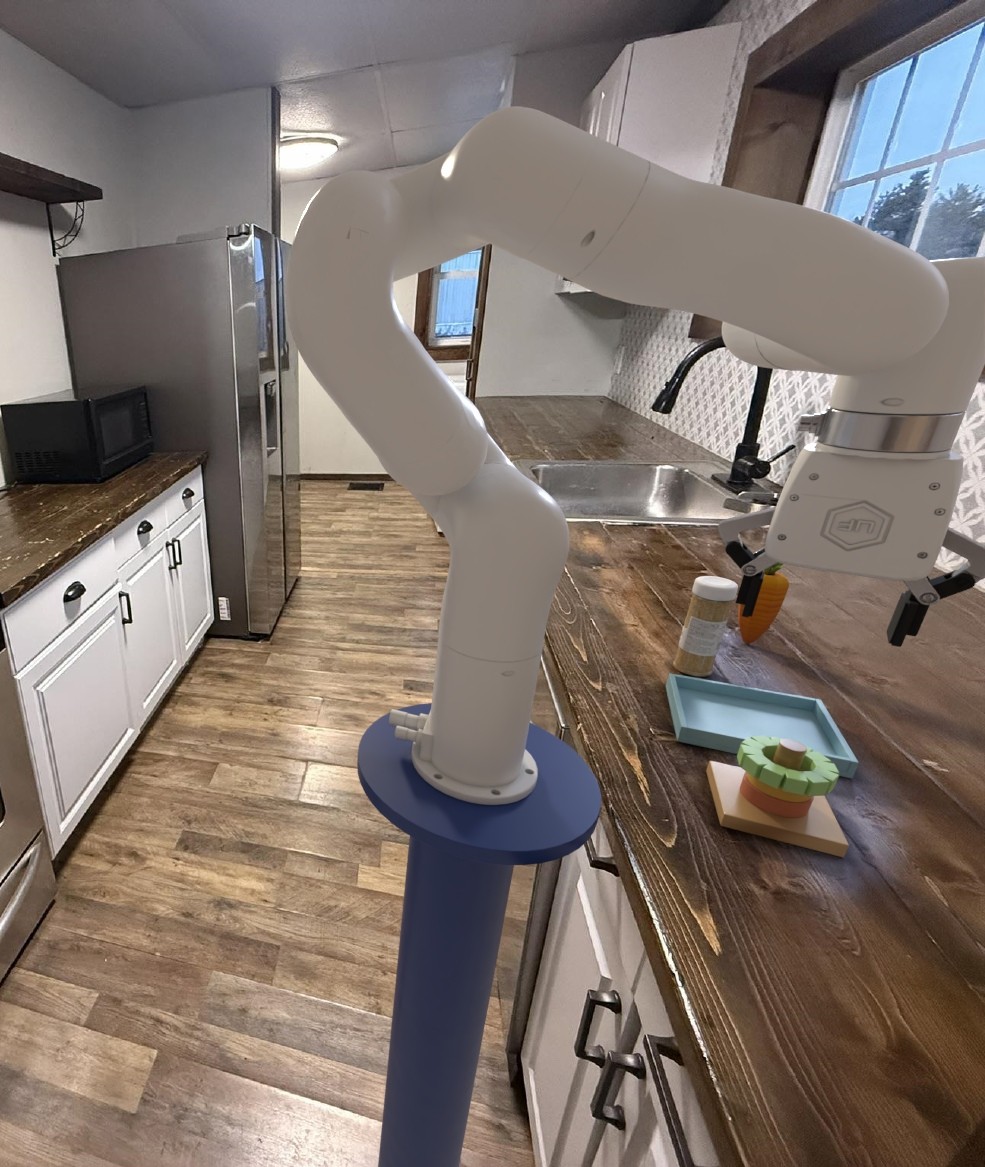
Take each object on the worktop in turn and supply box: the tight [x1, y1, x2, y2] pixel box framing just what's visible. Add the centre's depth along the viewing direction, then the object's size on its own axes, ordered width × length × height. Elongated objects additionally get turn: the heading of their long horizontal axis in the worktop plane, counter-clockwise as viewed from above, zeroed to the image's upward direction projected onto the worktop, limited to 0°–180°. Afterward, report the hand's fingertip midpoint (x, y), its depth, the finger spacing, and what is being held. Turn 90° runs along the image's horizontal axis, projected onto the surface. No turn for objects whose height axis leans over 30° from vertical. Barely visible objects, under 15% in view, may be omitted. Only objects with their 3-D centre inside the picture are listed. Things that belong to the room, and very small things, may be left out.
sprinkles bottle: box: [672, 575, 739, 678], centre depth 85 cm, size 5×5×13 cm
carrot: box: [737, 562, 790, 645], centre depth 90 cm, size 5×5×15 cm
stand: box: [705, 739, 850, 858], centre depth 61 cm, size 9×9×8 cm
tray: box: [665, 673, 860, 779], centre depth 74 cm, size 15×13×2 cm
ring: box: [736, 736, 840, 796], centre depth 60 cm, size 7×7×2 cm
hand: (816, 625), depth 56 cm, fingers open, 9 cm apart
